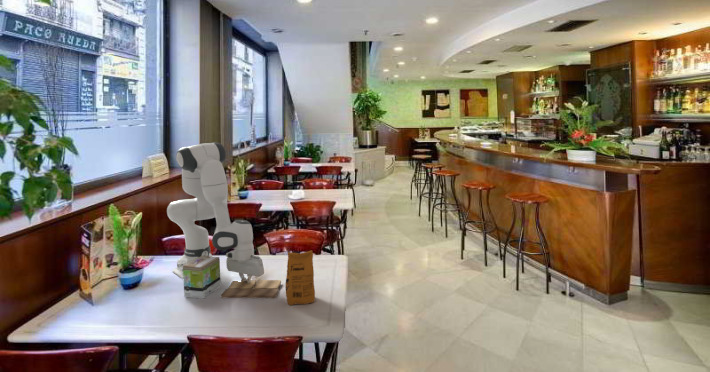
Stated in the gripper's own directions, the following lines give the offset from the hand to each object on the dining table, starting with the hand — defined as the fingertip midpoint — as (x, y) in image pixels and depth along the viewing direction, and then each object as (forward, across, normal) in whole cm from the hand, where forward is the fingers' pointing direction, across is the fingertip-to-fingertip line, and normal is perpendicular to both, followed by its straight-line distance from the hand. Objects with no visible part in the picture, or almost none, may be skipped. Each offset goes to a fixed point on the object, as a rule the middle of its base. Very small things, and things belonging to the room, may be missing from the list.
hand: (246, 282), depth 199 cm
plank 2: (+1, -10, -3) cm, 11 cm away
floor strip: (+2, -9, +7) cm, 11 cm away
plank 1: (+1, 0, +2) cm, 3 cm away
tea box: (+2, +13, +14) cm, 19 cm away
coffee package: (+2, -33, +2) cm, 33 cm away
